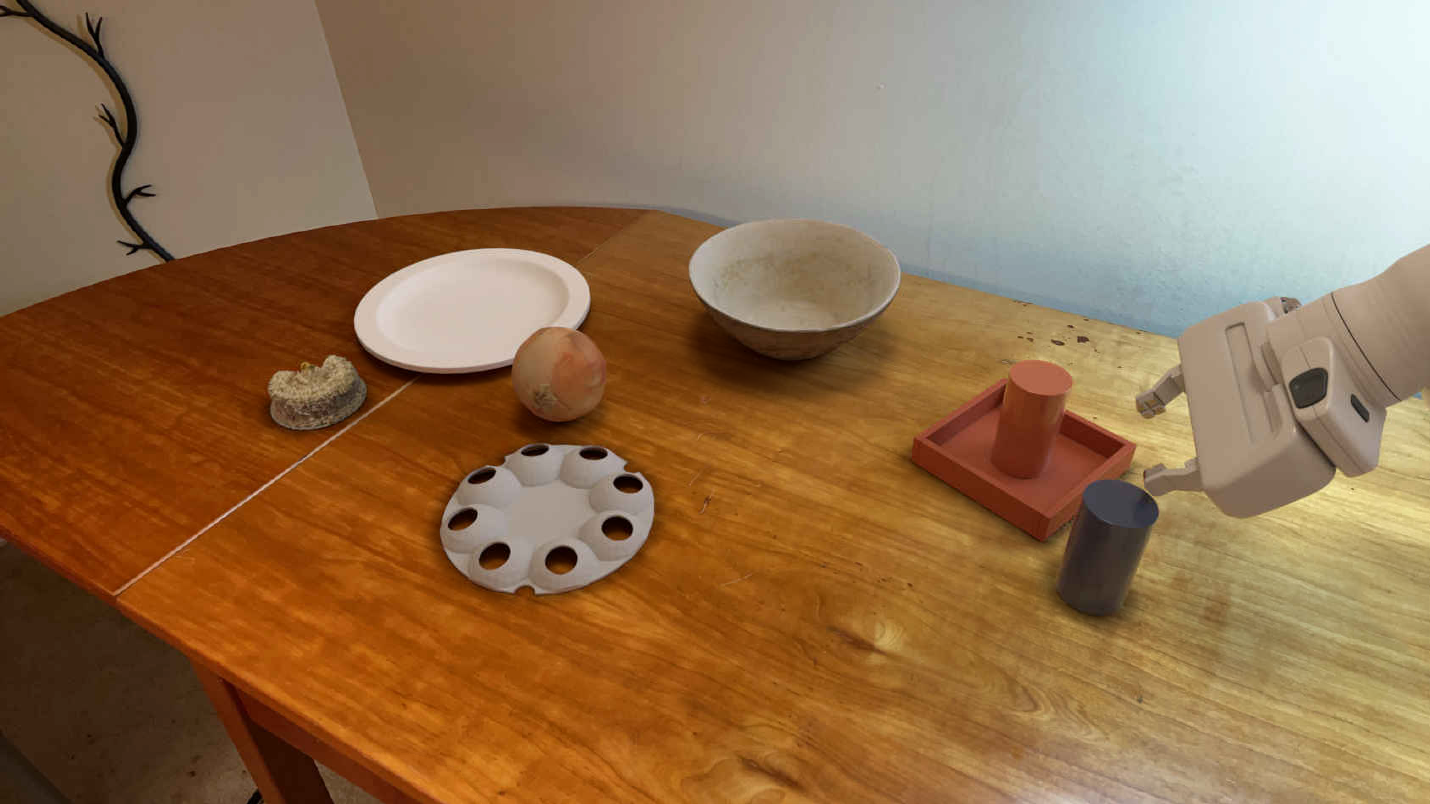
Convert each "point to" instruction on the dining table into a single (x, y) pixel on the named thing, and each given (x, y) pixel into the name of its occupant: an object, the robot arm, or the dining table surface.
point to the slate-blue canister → (1105, 546)
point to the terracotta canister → (1030, 418)
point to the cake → (316, 394)
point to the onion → (559, 374)
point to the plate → (468, 309)
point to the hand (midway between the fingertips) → (1143, 445)
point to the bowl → (794, 284)
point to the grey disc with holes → (547, 518)
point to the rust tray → (1030, 504)
